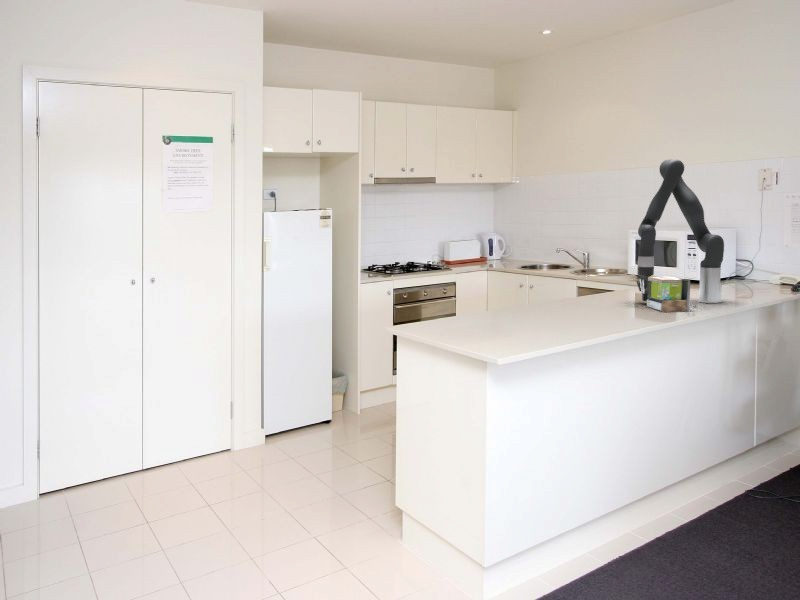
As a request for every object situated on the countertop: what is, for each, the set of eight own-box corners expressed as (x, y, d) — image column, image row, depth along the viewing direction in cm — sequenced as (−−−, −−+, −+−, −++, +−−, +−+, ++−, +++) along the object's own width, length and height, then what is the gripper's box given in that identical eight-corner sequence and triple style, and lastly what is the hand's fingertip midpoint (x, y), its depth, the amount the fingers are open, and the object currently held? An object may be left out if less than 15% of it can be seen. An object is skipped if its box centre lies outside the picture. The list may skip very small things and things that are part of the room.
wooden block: (685, 310, 320) (686, 299, 319) (687, 311, 318) (687, 300, 317) (661, 311, 318) (661, 300, 317) (663, 312, 316) (663, 301, 316)
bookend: (673, 306, 331) (674, 277, 329) (689, 310, 318) (690, 280, 316) (671, 307, 331) (672, 277, 329) (686, 311, 318) (687, 280, 316)
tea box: (681, 310, 320) (682, 278, 317) (660, 311, 319) (661, 279, 317) (666, 306, 334) (667, 275, 332) (646, 306, 333) (647, 276, 331)
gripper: (660, 266, 334) (659, 302, 336) (645, 264, 346) (644, 298, 349) (646, 267, 332) (644, 303, 335) (631, 264, 345) (630, 299, 347)
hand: (644, 300), depth 342 cm, fingers closed
